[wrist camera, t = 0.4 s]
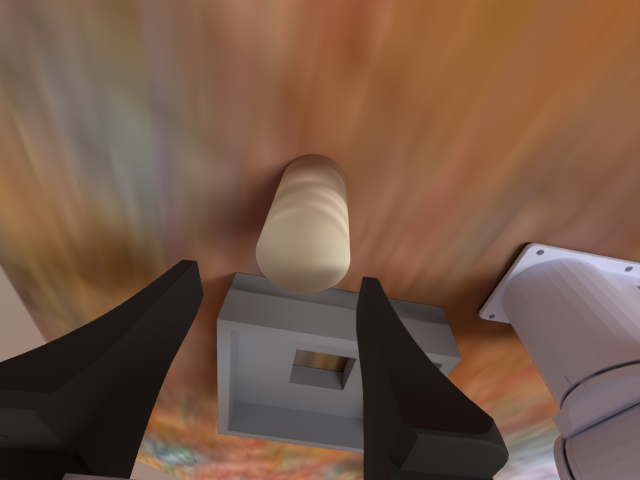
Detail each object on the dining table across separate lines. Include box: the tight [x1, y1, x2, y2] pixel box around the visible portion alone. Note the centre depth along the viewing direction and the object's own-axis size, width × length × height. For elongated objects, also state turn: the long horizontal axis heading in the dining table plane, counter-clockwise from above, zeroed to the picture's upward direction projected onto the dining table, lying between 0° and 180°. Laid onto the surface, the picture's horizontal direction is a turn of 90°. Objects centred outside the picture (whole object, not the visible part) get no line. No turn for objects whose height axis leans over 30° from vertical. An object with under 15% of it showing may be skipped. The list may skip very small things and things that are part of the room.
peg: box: [256, 154, 350, 293], centre depth 18 cm, size 4×4×8 cm
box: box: [217, 272, 462, 454], centre depth 29 cm, size 18×18×5 cm
